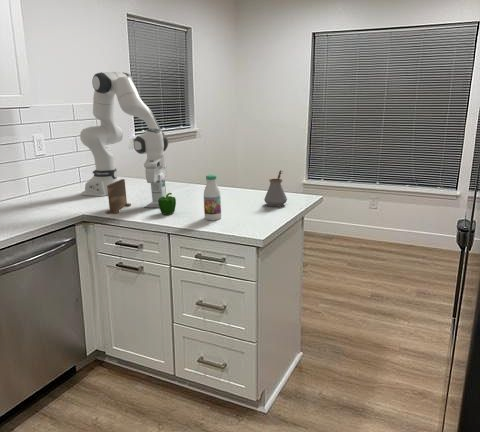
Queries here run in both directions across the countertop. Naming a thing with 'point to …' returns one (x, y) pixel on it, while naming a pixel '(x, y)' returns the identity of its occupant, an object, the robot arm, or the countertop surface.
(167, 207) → the bell pepper
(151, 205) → the coaster
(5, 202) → the countertop surface
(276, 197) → the coffee pot
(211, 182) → the milk bottle
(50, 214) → the countertop surface
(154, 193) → the syrup box
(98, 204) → the countertop surface
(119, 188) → the brown wooden display stand
